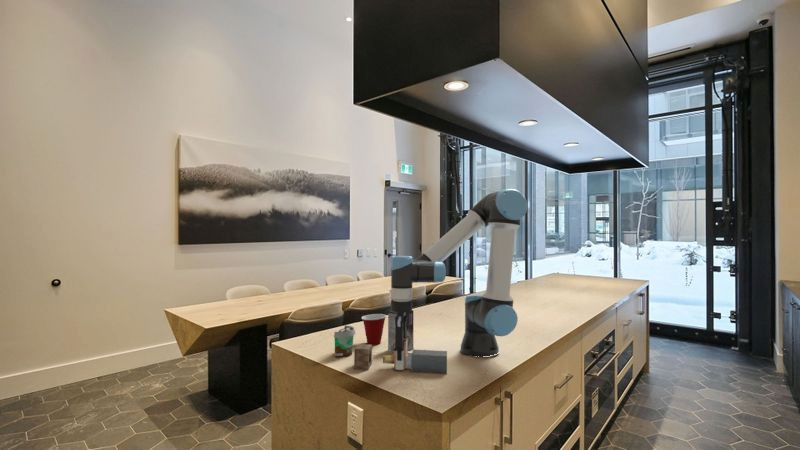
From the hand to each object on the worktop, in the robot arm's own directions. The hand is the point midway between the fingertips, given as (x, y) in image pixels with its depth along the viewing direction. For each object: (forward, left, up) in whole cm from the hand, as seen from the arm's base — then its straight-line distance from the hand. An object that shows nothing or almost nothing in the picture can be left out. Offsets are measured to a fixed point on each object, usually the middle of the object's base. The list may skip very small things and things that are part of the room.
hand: (400, 366), depth 133 cm
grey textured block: (+13, 0, -1) cm, 14 cm away
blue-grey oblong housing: (-10, 0, -1) cm, 10 cm away
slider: (-5, 0, 0) cm, 5 cm away
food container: (+23, -13, -1) cm, 26 cm away
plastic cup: (+16, -31, -1) cm, 35 cm away
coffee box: (+3, -23, -1) cm, 23 cm away
